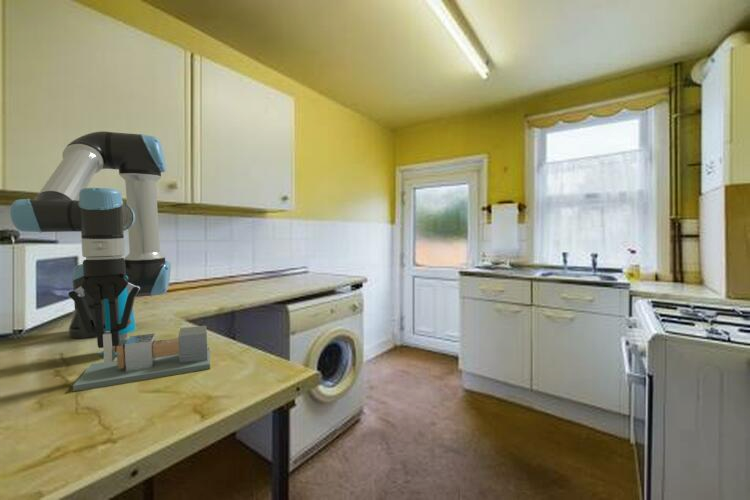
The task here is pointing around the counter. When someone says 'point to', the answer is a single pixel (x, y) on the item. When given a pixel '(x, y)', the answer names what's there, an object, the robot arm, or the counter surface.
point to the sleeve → (139, 352)
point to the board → (135, 372)
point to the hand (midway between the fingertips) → (109, 360)
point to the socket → (192, 344)
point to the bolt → (158, 350)
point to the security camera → (120, 317)
